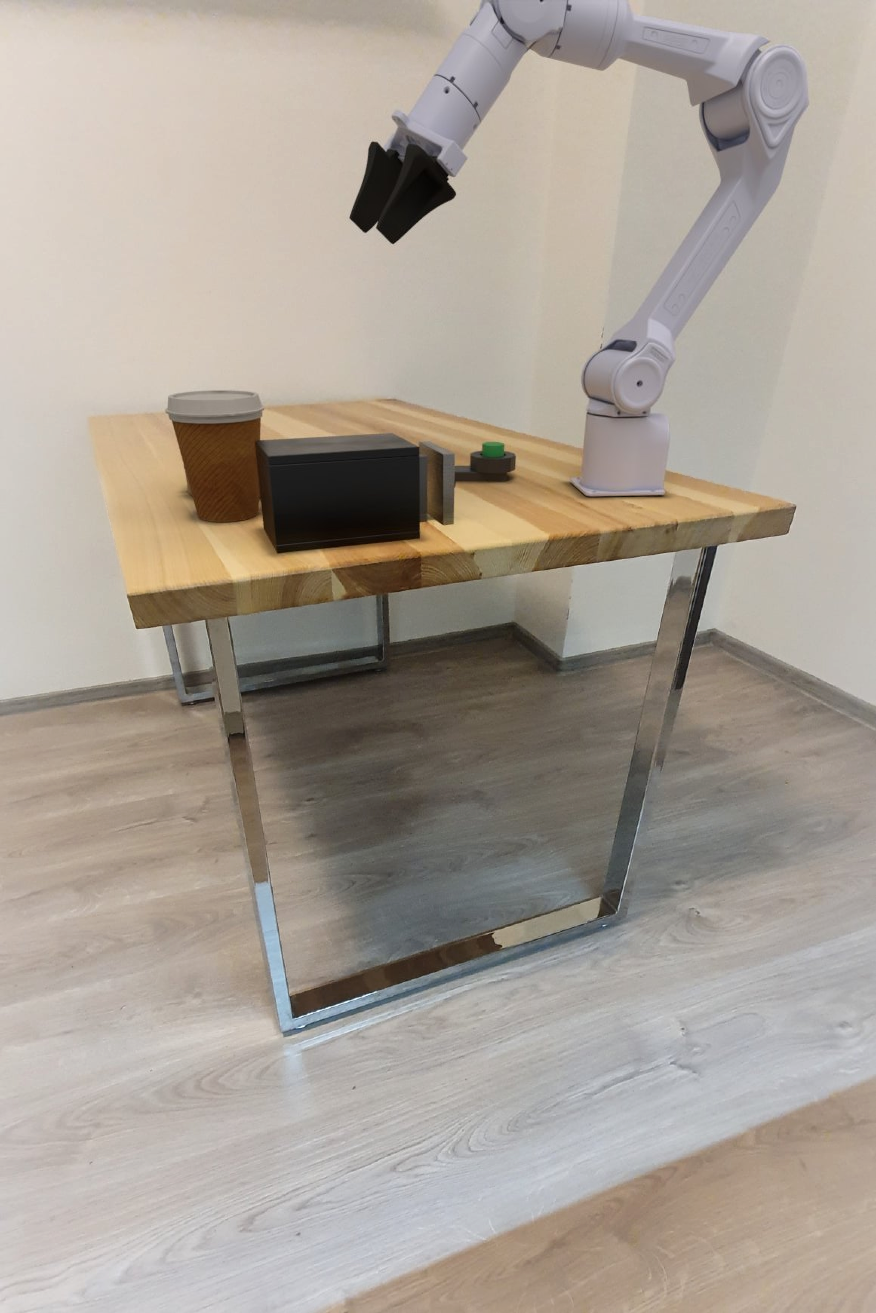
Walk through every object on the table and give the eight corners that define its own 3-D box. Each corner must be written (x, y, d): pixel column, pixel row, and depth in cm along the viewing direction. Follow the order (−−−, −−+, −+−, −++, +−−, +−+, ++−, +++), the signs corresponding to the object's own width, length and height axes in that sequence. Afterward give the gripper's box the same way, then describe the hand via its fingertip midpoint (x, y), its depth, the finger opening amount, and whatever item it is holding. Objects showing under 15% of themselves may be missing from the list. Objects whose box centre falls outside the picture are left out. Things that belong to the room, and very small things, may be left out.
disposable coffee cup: (191, 531, 71) (172, 402, 66) (174, 509, 79) (156, 392, 74) (285, 519, 75) (274, 397, 70) (261, 499, 83) (249, 388, 78)
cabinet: (394, 517, 76) (392, 432, 72) (420, 539, 69) (419, 446, 66) (263, 529, 72) (254, 440, 68) (277, 553, 65) (267, 456, 61)
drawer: (440, 506, 77) (440, 440, 74) (465, 523, 71) (467, 452, 68) (312, 518, 73) (307, 448, 70) (327, 537, 67) (322, 462, 64)
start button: (502, 455, 94) (503, 441, 93) (504, 460, 91) (505, 445, 90) (481, 455, 94) (481, 441, 93) (482, 460, 91) (482, 445, 90)
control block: (511, 473, 96) (513, 450, 95) (516, 483, 91) (517, 458, 90) (435, 473, 96) (435, 450, 95) (435, 483, 91) (435, 458, 90)
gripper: (397, 66, 71) (316, 192, 74) (462, 62, 60) (366, 208, 63) (445, 126, 75) (367, 242, 78) (513, 131, 65) (421, 265, 68)
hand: (370, 231), depth 71 cm, fingers open, 7 cm apart
